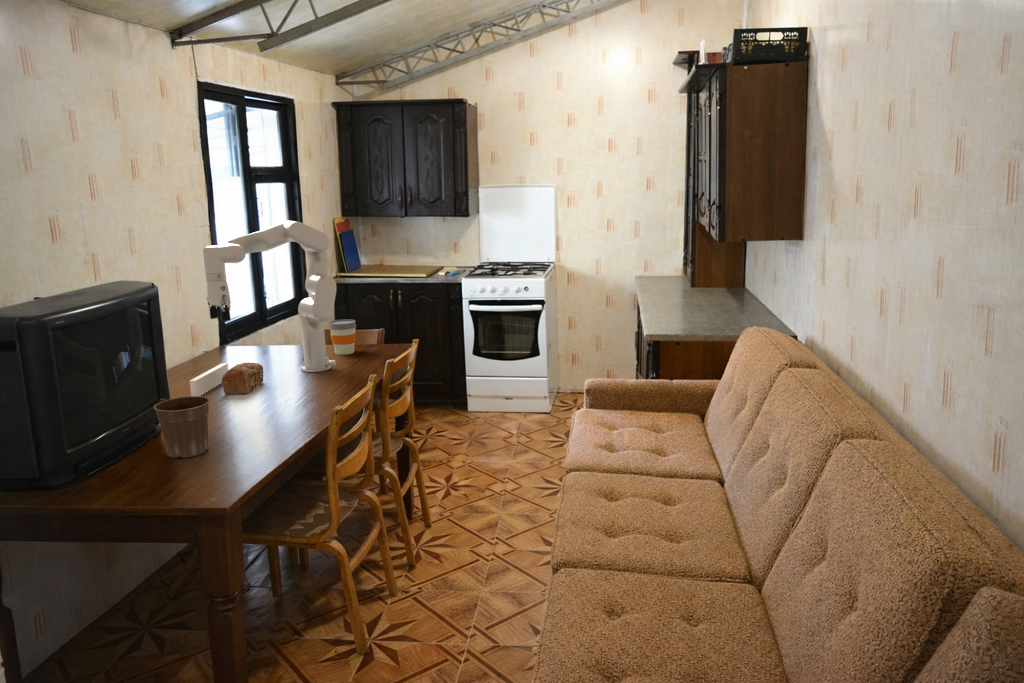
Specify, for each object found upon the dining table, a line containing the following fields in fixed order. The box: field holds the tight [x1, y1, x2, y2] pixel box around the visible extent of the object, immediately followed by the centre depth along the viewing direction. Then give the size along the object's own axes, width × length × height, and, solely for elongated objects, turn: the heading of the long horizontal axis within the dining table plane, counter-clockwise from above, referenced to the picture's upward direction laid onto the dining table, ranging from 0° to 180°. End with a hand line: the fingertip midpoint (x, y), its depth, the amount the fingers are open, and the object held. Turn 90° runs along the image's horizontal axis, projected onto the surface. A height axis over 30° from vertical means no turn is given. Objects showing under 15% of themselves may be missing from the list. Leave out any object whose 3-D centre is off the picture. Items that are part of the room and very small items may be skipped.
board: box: [189, 362, 229, 397], centre depth 329 cm, size 2×28×7 cm, turn 174°
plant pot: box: [153, 395, 211, 459], centre depth 253 cm, size 16×16×16 cm
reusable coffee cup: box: [329, 318, 357, 356], centre depth 386 cm, size 13×13×15 cm
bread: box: [221, 362, 264, 395], centre depth 327 cm, size 19×11×10 cm, turn 175°
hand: (220, 319), depth 325 cm, fingers open, 9 cm apart
